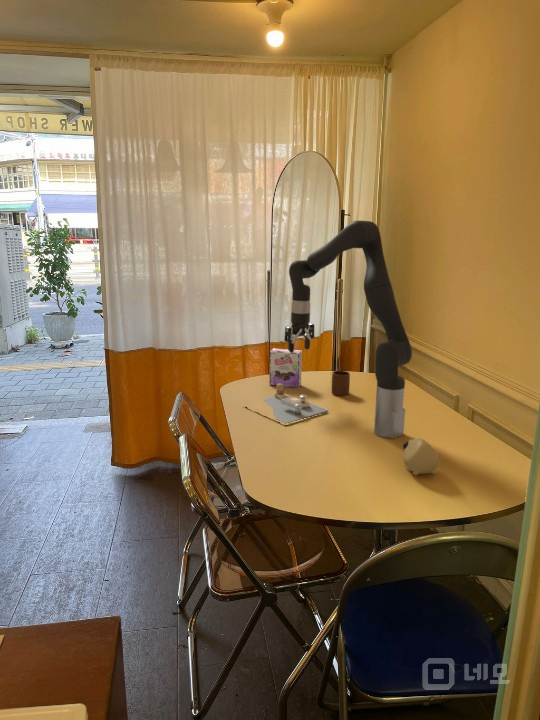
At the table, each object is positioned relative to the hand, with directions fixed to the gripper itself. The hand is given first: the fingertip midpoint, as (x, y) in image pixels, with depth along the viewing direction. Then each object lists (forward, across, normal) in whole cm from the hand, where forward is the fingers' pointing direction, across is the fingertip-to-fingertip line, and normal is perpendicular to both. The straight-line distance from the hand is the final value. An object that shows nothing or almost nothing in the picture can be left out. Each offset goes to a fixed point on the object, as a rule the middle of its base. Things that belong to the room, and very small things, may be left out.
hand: (299, 350), depth 204 cm
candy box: (+22, +8, +18) cm, 29 cm away
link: (+20, -7, -4) cm, 21 cm away
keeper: (+20, -10, -12) cm, 25 cm away
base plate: (+21, -13, -7) cm, 25 cm away
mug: (+21, +20, -4) cm, 30 cm away
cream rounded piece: (+20, -16, -70) cm, 75 cm away
